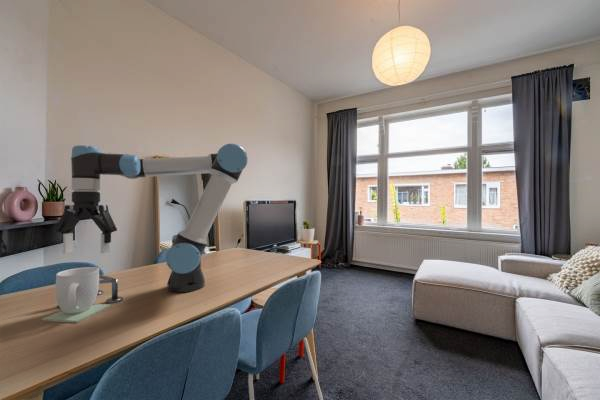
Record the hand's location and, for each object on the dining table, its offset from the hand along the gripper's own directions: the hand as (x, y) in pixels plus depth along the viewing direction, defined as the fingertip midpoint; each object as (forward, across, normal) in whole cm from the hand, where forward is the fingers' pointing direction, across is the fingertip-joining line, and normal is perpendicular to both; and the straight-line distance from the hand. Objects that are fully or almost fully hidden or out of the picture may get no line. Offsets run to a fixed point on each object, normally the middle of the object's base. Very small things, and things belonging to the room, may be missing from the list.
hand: (86, 252), depth 87 cm
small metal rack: (+20, +3, -8) cm, 21 cm away
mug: (+19, 0, +3) cm, 19 cm away
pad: (+20, 0, +3) cm, 20 cm away
